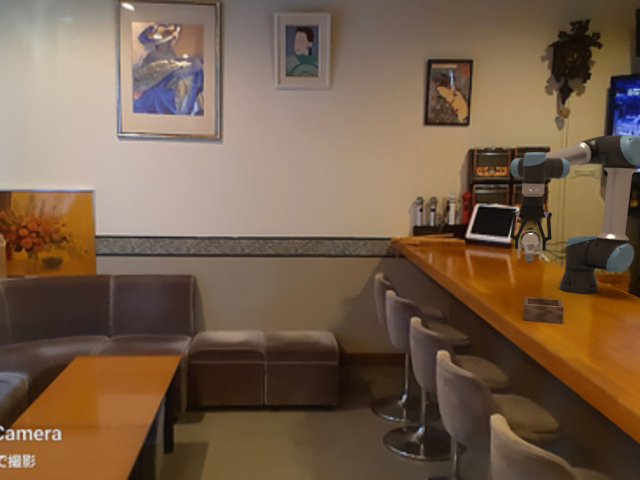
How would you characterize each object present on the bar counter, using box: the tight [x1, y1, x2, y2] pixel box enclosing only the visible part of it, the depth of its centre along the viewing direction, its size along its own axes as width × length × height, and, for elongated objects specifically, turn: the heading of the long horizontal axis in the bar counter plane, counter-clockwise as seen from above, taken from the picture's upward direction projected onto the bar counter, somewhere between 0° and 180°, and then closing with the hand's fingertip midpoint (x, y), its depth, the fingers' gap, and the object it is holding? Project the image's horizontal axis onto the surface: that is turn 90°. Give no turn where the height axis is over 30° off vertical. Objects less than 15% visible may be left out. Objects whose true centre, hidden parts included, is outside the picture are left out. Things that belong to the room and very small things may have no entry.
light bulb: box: [519, 229, 542, 264], centre depth 216 cm, size 7×7×12 cm
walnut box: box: [522, 296, 564, 324], centre depth 207 cm, size 12×12×6 cm
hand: (529, 258), depth 216 cm, fingers closed on light bulb, 7 cm apart
